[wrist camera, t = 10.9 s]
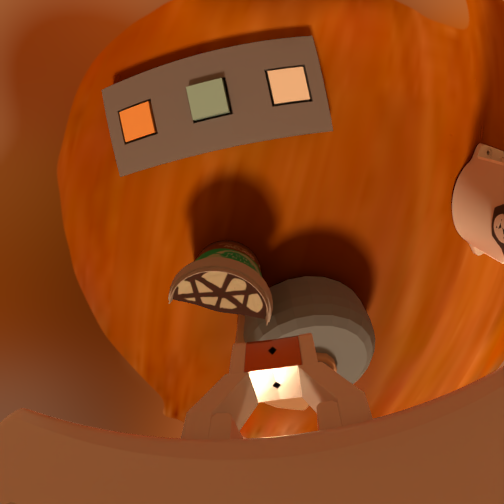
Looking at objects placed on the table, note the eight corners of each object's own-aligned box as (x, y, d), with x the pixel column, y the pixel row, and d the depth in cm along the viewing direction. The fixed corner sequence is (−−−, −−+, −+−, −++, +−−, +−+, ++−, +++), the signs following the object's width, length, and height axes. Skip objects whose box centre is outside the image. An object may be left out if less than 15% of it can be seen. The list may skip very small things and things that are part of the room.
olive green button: (223, 81, 28) (221, 77, 26) (230, 112, 29) (228, 111, 27) (190, 89, 28) (185, 87, 26) (196, 120, 30) (192, 120, 28)
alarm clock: (213, 312, 43) (199, 369, 32) (329, 245, 38) (354, 291, 27) (278, 380, 49) (281, 433, 38) (377, 331, 44) (400, 382, 33)
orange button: (153, 102, 29) (148, 101, 28) (160, 132, 31) (154, 132, 29) (125, 112, 30) (119, 112, 28) (132, 141, 31) (125, 142, 30)
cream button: (300, 70, 28) (302, 66, 26) (307, 100, 29) (309, 99, 27) (267, 74, 28) (267, 71, 26) (273, 105, 30) (274, 103, 28)
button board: (308, 43, 27) (312, 35, 24) (327, 131, 32) (333, 130, 29) (112, 92, 30) (101, 89, 27) (130, 173, 34) (120, 176, 32)
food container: (281, 243, 38) (287, 280, 29) (269, 282, 40) (271, 326, 31) (190, 223, 37) (168, 253, 28) (184, 263, 39) (164, 302, 30)
